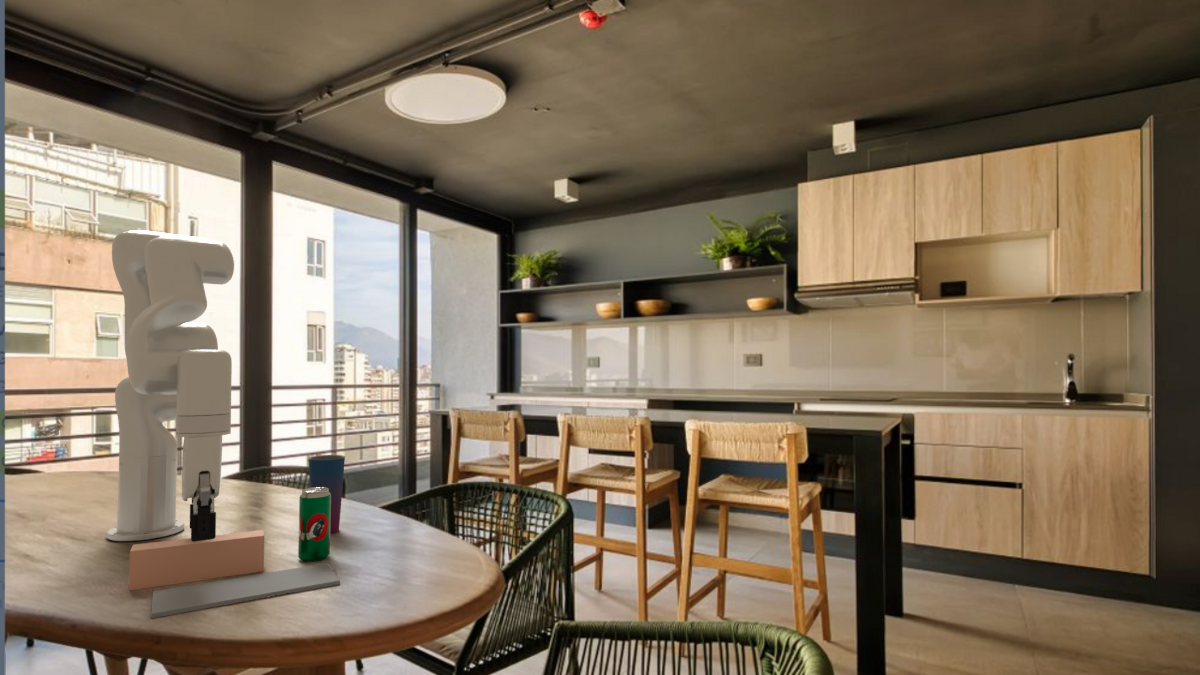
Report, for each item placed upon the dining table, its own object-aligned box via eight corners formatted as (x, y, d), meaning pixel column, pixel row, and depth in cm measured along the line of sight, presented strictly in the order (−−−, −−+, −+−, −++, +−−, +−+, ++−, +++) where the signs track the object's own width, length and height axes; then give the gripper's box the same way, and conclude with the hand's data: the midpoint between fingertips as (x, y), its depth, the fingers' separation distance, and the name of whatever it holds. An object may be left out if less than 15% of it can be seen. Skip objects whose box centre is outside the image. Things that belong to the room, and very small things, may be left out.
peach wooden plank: (132, 583, 100) (133, 544, 100) (262, 565, 109) (263, 529, 109) (128, 591, 96) (129, 551, 97) (263, 572, 105) (264, 535, 106)
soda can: (336, 555, 114) (337, 487, 114) (316, 564, 109) (317, 493, 109) (312, 552, 115) (313, 485, 116) (291, 561, 110) (292, 491, 111)
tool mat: (153, 595, 94) (153, 591, 94) (326, 566, 108) (327, 563, 108) (151, 618, 86) (151, 613, 86) (339, 584, 99) (339, 580, 99)
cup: (333, 525, 134) (334, 453, 134) (350, 531, 129) (351, 457, 130) (300, 532, 128) (302, 457, 129) (317, 538, 124) (318, 461, 125)
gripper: (175, 424, 108) (173, 526, 107) (176, 431, 94) (174, 549, 93) (227, 421, 113) (225, 520, 112) (234, 428, 98) (233, 541, 97)
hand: (202, 533), depth 102 cm, fingers open, 9 cm apart
